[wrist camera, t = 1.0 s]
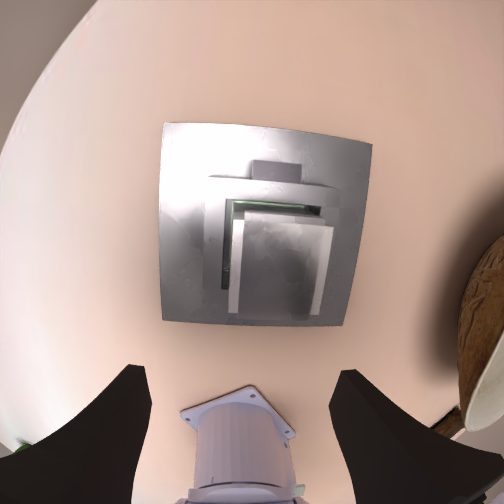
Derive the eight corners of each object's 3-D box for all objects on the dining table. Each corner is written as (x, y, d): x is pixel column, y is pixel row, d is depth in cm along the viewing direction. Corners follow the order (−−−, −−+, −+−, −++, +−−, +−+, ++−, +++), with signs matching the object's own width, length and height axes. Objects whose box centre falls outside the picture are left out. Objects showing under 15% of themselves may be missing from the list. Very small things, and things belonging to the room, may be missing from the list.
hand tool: (456, 402, 28) (471, 421, 23) (458, 411, 29) (472, 429, 25) (349, 472, 31) (356, 495, 26) (358, 477, 32) (366, 498, 27)
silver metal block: (292, 272, 18) (318, 320, 12) (228, 269, 18) (226, 318, 12) (301, 200, 17) (335, 220, 11) (232, 195, 16) (232, 211, 11)
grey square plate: (337, 319, 21) (356, 348, 17) (165, 313, 20) (152, 344, 16) (365, 144, 17) (396, 142, 13) (167, 125, 16) (149, 115, 12)
